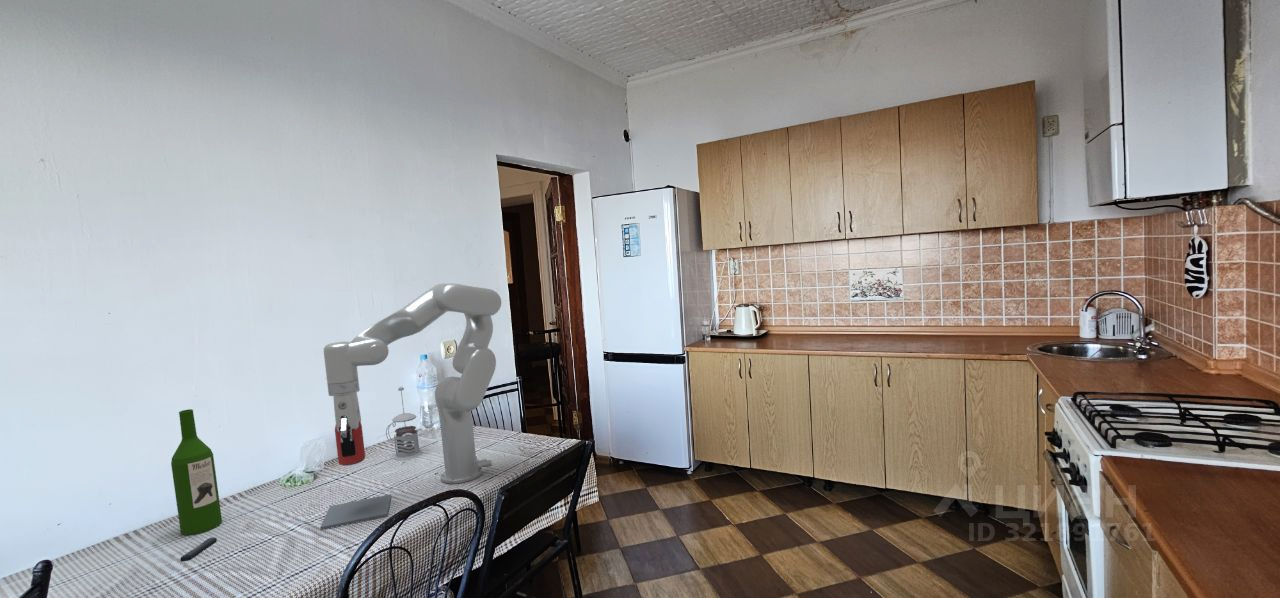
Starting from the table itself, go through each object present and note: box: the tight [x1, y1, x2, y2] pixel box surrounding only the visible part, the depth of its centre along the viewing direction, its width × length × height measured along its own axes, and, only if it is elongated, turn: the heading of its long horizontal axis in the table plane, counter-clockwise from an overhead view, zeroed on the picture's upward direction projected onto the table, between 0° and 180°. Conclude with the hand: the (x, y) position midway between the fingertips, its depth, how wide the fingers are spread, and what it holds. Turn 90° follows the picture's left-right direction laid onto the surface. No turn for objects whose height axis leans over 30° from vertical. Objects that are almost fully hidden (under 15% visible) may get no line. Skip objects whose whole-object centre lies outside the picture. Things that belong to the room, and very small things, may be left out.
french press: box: [385, 386, 424, 461], centre depth 200 cm, size 10×12×25 cm
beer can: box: [334, 421, 366, 467], centre depth 153 cm, size 7×7×12 cm
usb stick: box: [179, 536, 218, 562], centre depth 139 cm, size 10×3×2 cm, turn 1°
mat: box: [320, 494, 392, 531], centre depth 155 cm, size 16×14×1 cm
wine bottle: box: [170, 408, 223, 536], centre depth 152 cm, size 9×9×32 cm
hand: (351, 451), depth 154 cm, fingers closed on beer can, 6 cm apart
